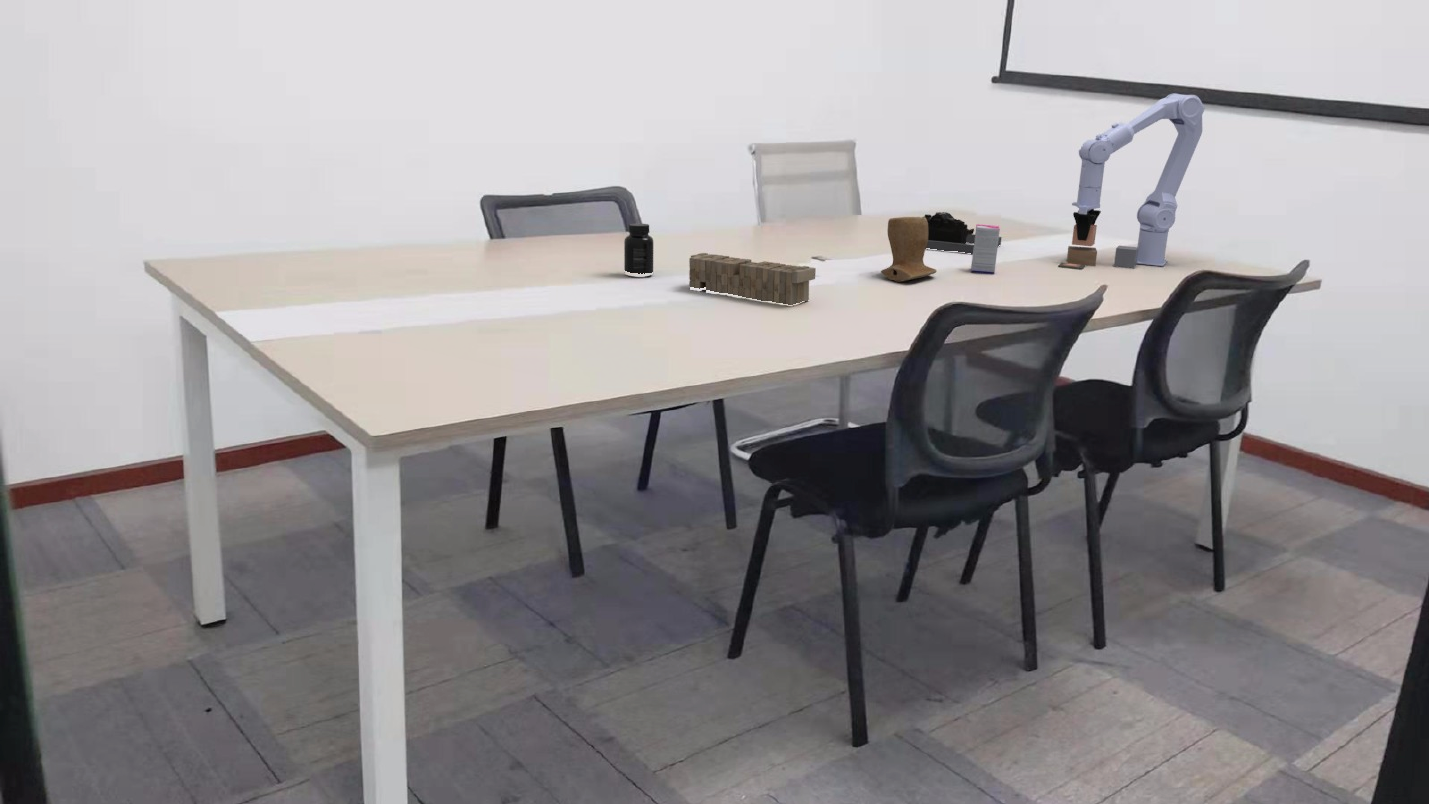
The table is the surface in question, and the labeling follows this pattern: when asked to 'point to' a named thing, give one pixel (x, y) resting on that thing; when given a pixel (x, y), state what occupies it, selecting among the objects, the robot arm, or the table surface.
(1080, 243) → the terracotta cube
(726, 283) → the block tower
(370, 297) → the table surface
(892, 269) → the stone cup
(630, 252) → the supplement bottle
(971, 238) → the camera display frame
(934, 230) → the film camera
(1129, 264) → the charcoal cube
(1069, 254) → the walnut block
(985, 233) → the supplement box
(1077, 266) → the card
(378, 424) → the table surface
